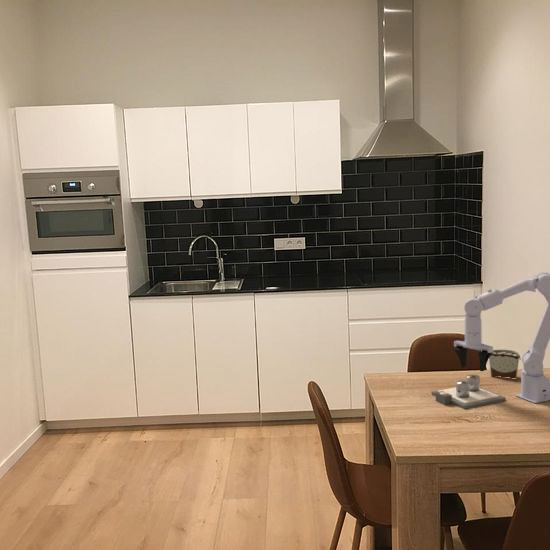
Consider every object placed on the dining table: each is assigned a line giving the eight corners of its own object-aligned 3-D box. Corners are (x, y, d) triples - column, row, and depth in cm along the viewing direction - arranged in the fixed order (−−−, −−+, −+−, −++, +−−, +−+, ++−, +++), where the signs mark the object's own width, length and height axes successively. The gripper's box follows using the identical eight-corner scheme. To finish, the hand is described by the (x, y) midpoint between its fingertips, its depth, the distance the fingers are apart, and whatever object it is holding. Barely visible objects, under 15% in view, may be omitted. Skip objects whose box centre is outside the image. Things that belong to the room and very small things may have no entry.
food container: (523, 375, 245) (523, 351, 244) (520, 380, 240) (520, 354, 239) (491, 372, 252) (491, 348, 251) (487, 376, 247) (487, 351, 245)
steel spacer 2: (481, 389, 227) (481, 375, 226) (476, 392, 223) (476, 378, 223) (469, 387, 230) (469, 373, 229) (464, 390, 226) (464, 376, 225)
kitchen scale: (505, 400, 218) (505, 391, 218) (456, 410, 210) (456, 401, 210) (471, 386, 235) (471, 378, 234) (424, 395, 227) (424, 386, 227)
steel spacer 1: (470, 394, 221) (470, 381, 220) (468, 398, 217) (468, 384, 216) (457, 393, 223) (457, 379, 222) (455, 397, 219) (454, 383, 218)
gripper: (497, 332, 221) (497, 369, 223) (461, 327, 232) (461, 362, 233) (487, 336, 216) (486, 374, 218) (450, 330, 227) (450, 366, 229)
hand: (473, 368), depth 225 cm, fingers open, 7 cm apart
